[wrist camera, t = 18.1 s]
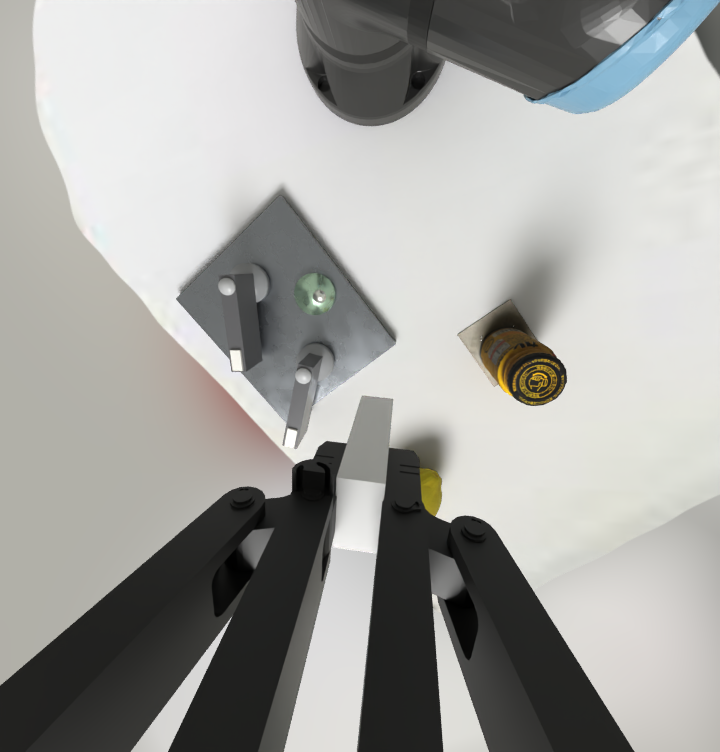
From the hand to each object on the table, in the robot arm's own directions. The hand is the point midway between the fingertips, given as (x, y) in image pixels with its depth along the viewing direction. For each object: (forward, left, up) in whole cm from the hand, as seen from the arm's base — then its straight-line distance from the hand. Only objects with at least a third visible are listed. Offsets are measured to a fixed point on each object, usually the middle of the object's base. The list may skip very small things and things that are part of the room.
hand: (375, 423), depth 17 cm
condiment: (+2, +14, -29) cm, 32 cm away
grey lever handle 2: (+9, -10, -28) cm, 31 cm away
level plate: (0, -14, -29) cm, 32 cm away
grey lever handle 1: (-1, -17, -28) cm, 33 cm away
